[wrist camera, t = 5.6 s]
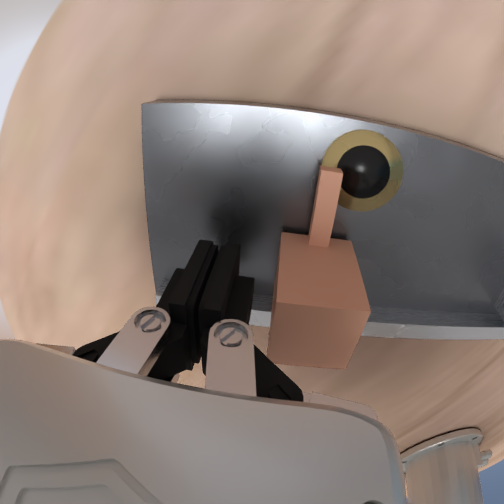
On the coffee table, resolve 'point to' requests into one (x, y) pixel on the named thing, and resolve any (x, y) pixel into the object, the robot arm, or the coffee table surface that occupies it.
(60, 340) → the coffee table surface
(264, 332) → the coffee table surface
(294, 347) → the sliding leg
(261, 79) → the coffee table surface
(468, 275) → the plate
